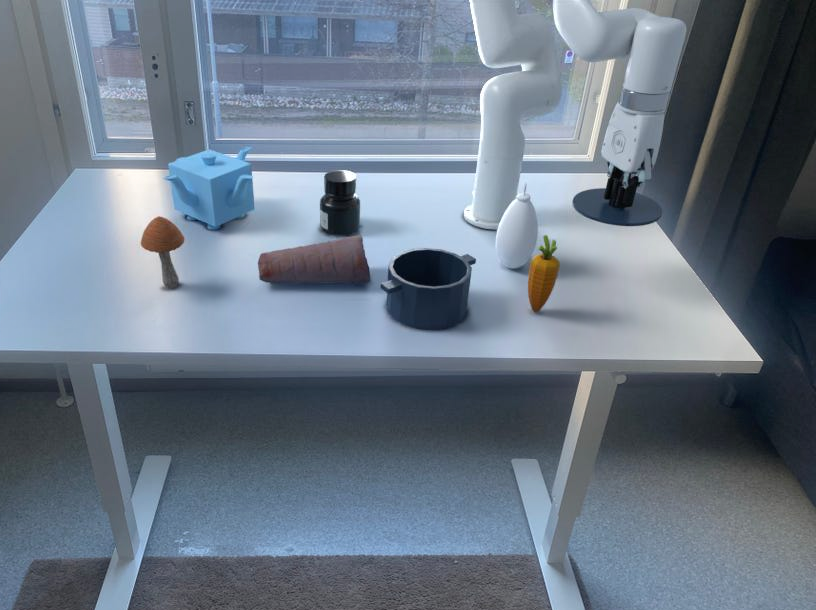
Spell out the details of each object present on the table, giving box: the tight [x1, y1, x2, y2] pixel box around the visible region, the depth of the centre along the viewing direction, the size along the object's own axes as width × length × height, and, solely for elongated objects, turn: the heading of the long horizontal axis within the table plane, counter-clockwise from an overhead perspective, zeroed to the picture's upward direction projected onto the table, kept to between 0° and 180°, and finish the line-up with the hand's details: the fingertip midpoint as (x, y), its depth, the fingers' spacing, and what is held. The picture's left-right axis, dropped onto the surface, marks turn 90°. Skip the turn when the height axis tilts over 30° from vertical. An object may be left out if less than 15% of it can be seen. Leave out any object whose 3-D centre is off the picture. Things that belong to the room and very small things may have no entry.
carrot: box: [527, 234, 561, 314], centre depth 124 cm, size 5×5×15 cm
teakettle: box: [163, 146, 255, 230], centre depth 157 cm, size 19×19×15 cm
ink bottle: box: [319, 169, 361, 236], centre depth 153 cm, size 10×9×12 cm
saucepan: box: [380, 247, 477, 331], centre depth 128 cm, size 15×20×8 cm
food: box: [257, 234, 371, 285], centre depth 135 cm, size 21×10×9 cm, turn 99°
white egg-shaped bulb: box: [495, 182, 539, 270], centre depth 137 cm, size 8×8×18 cm
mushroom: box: [140, 215, 186, 290], centre depth 131 cm, size 8×8×15 cm
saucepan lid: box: [572, 176, 663, 227], centre depth 127 cm, size 16×16×6 cm
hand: (617, 201), depth 128 cm, fingers closed on saucepan lid, 3 cm apart
